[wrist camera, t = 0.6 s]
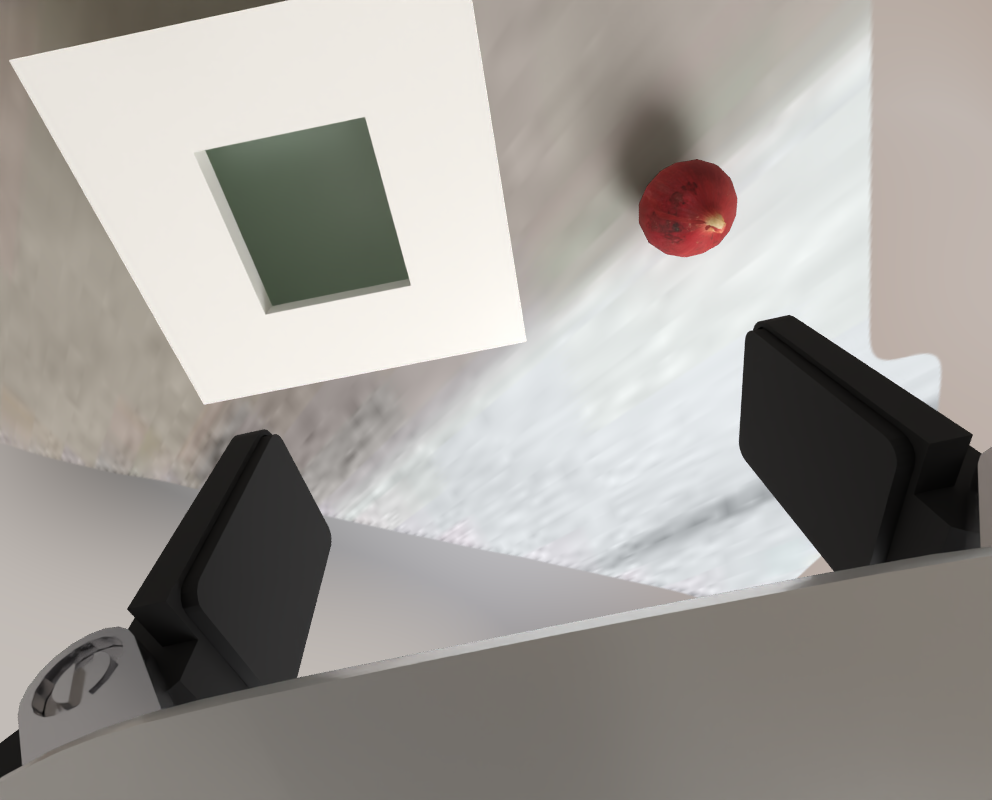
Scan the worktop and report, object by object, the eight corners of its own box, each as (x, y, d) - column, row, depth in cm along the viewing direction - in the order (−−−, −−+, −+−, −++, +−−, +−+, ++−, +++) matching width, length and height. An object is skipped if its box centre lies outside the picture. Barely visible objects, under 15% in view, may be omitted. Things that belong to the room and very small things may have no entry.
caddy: (158, 70, 30) (8, 59, 20) (459, 6, 30) (466, -38, 19) (269, 320, 38) (203, 404, 28) (505, 273, 38) (526, 341, 28)
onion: (626, 247, 38) (665, 282, 31) (623, 163, 35) (666, 180, 28) (704, 232, 38) (761, 264, 31) (708, 146, 35) (772, 160, 28)
